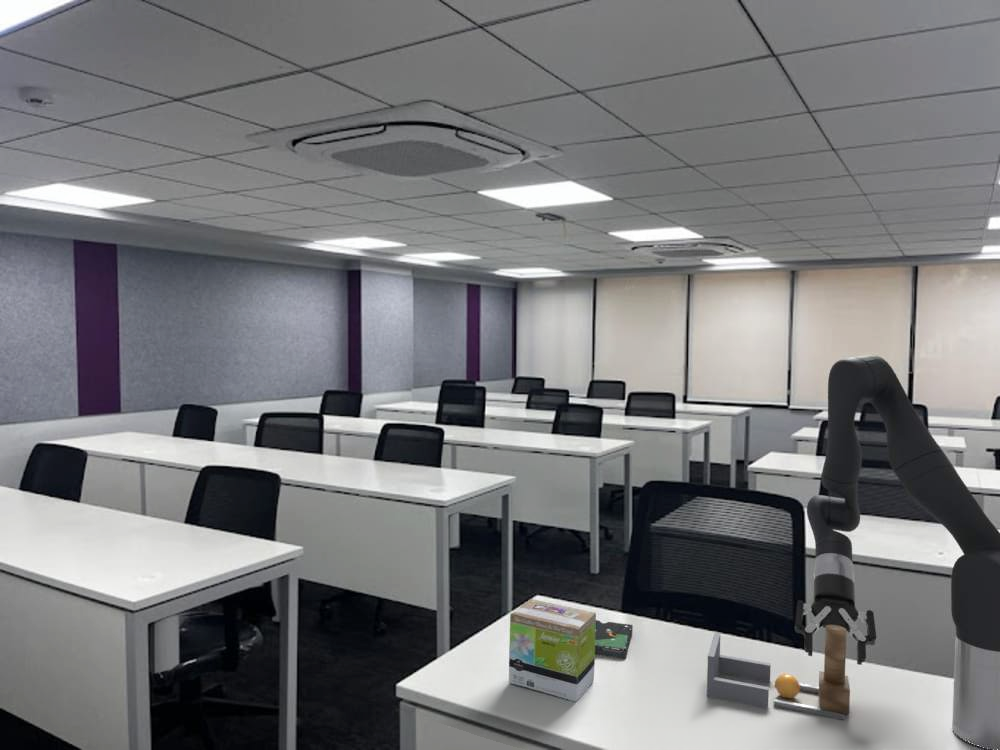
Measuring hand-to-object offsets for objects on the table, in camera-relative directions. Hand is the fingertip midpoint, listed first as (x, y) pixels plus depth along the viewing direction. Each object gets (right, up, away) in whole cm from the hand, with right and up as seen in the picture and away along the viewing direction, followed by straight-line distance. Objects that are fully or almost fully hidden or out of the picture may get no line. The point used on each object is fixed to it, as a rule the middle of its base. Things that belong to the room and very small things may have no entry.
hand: (834, 658), depth 134 cm
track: (-4, -9, +2) cm, 10 cm away
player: (0, -9, 0) cm, 9 cm away
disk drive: (-39, -8, +28) cm, 49 cm away
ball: (-8, -7, +3) cm, 11 cm away
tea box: (-53, -8, +8) cm, 55 cm away
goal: (-15, -9, +7) cm, 19 cm away
